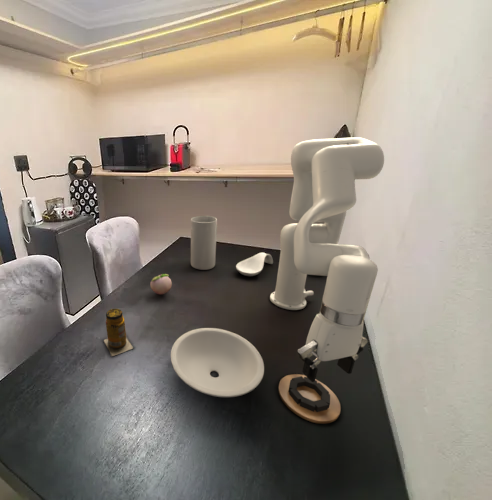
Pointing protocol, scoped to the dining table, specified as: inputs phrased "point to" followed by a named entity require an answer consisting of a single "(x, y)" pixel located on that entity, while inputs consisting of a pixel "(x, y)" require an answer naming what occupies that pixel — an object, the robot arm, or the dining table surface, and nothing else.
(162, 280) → the decorative fruit
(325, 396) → the ring
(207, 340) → the white sink bowl
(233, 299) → the dining table surface
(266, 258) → the spoon rest
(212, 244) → the cylinder vase
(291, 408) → the coaster
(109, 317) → the condiment
